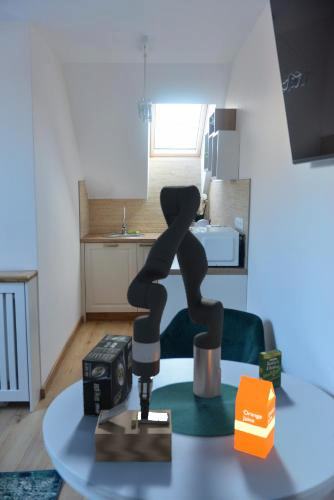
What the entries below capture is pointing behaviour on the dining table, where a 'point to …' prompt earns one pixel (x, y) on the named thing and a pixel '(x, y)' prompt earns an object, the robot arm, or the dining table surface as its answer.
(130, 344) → the box
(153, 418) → the clasp
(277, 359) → the coffee box
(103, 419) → the clasp
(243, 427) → the orange juice
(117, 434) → the wooden latch case
